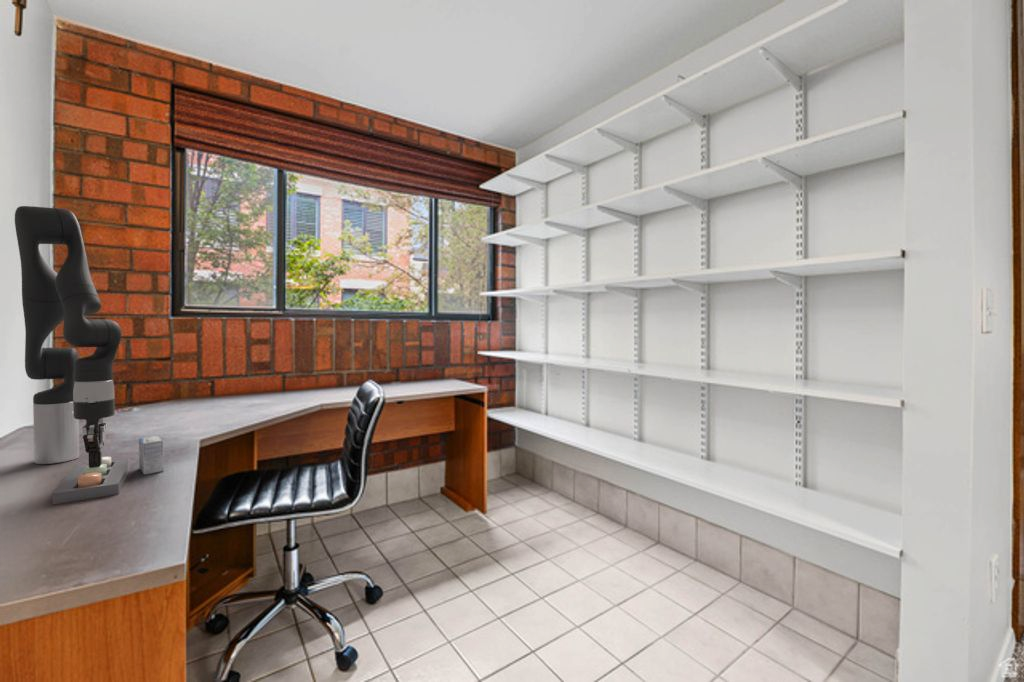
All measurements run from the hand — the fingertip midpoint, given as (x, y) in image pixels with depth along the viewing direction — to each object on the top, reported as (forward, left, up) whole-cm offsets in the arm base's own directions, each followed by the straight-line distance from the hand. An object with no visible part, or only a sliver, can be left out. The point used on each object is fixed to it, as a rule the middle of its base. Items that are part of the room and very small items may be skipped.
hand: (95, 466), depth 110 cm
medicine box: (-6, +11, -5) cm, 13 cm away
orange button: (+8, 0, -3) cm, 8 cm away
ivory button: (-8, 0, -3) cm, 9 cm away
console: (0, 0, -4) cm, 4 cm away
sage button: (0, 0, -3) cm, 3 cm away
